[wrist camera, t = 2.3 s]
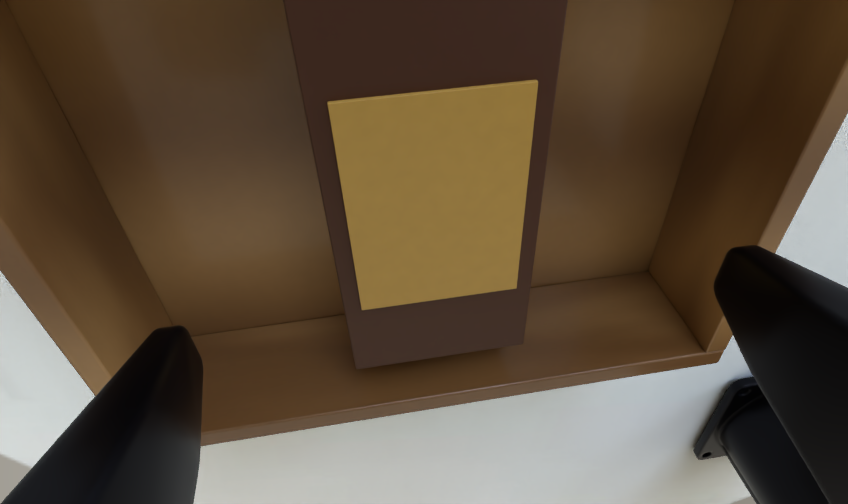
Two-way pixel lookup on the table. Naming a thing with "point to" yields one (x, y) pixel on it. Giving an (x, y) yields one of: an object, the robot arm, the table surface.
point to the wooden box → (305, 217)
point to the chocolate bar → (430, 163)
